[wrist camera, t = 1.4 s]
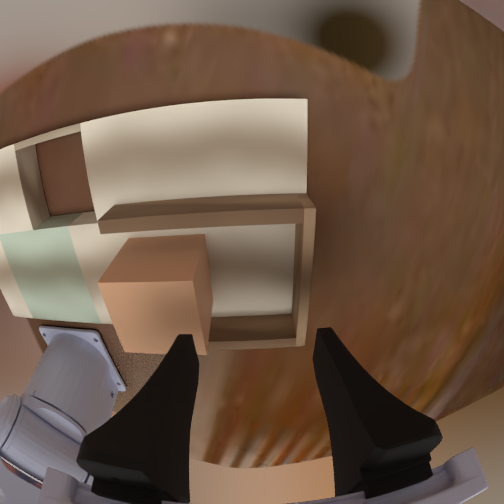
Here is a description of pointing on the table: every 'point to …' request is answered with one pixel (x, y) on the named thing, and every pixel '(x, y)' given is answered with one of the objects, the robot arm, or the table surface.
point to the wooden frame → (236, 214)
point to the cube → (159, 292)
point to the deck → (154, 189)
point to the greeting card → (489, 10)
